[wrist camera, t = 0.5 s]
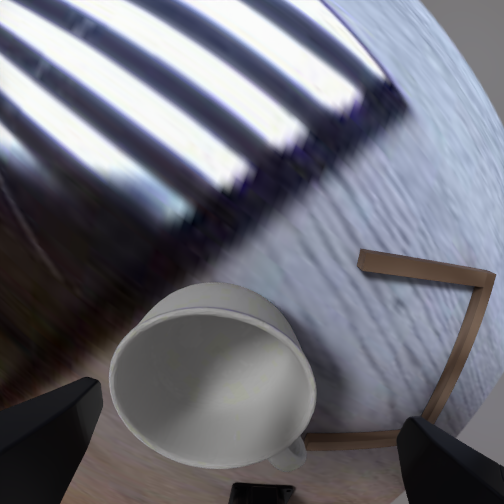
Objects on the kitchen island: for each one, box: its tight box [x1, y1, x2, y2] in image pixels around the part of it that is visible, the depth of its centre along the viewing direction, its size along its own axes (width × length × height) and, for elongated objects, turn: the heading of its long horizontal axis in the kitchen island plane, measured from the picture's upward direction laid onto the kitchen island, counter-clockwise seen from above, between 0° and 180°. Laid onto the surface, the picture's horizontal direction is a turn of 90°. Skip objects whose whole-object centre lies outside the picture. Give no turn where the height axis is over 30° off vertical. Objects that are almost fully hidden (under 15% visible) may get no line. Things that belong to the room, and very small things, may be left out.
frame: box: [304, 249, 496, 451], centre depth 22 cm, size 18×13×1 cm
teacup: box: [109, 282, 317, 472], centre depth 18 cm, size 14×11×8 cm
